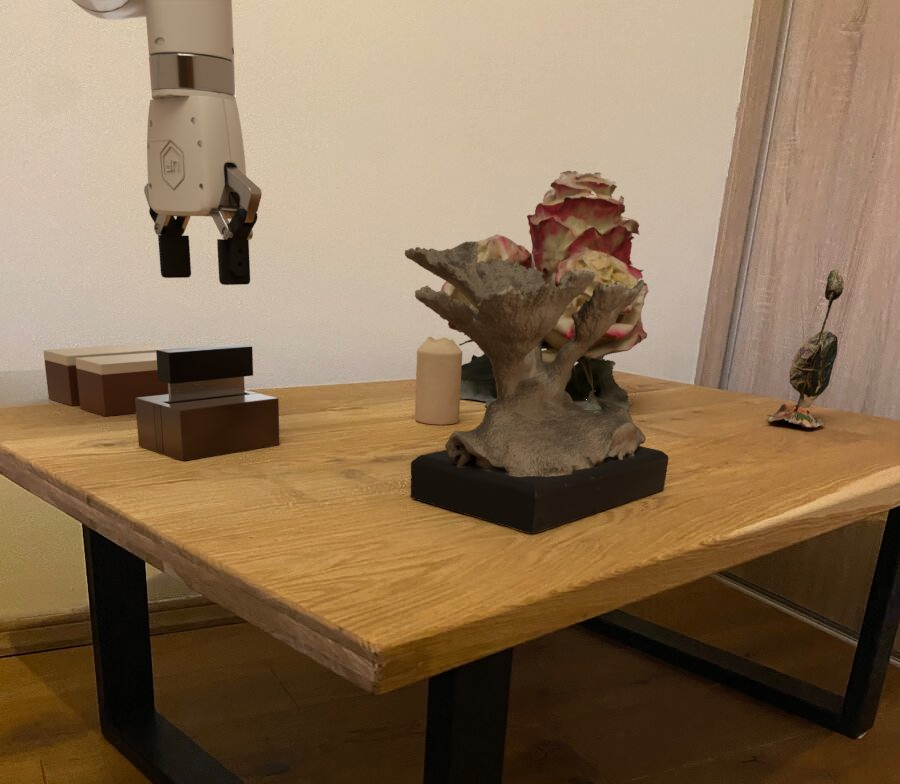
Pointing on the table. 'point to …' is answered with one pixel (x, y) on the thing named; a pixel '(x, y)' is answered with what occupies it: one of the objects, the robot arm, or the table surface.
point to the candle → (438, 382)
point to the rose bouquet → (555, 251)
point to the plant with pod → (813, 366)
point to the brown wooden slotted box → (207, 425)
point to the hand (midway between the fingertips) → (204, 280)
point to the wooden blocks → (103, 377)
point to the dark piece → (204, 371)
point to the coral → (531, 401)
